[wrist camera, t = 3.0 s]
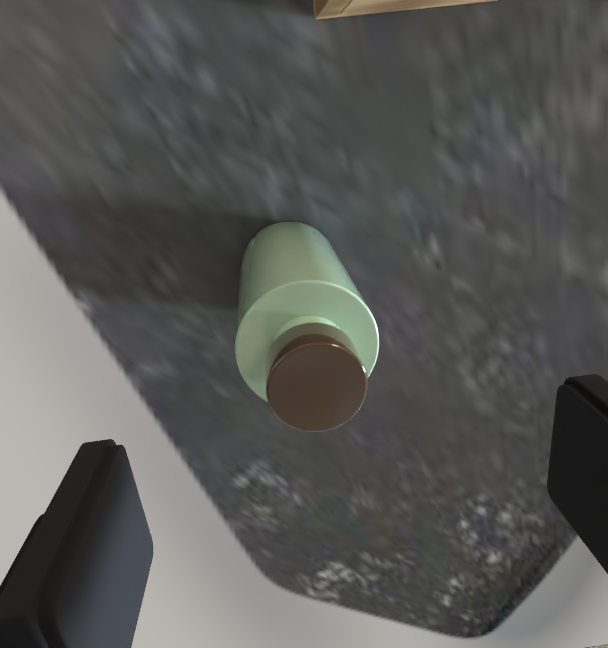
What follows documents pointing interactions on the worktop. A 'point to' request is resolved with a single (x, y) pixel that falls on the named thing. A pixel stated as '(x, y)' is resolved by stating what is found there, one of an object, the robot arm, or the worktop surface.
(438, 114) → the worktop surface
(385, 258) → the worktop surface
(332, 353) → the bottle
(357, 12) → the box
